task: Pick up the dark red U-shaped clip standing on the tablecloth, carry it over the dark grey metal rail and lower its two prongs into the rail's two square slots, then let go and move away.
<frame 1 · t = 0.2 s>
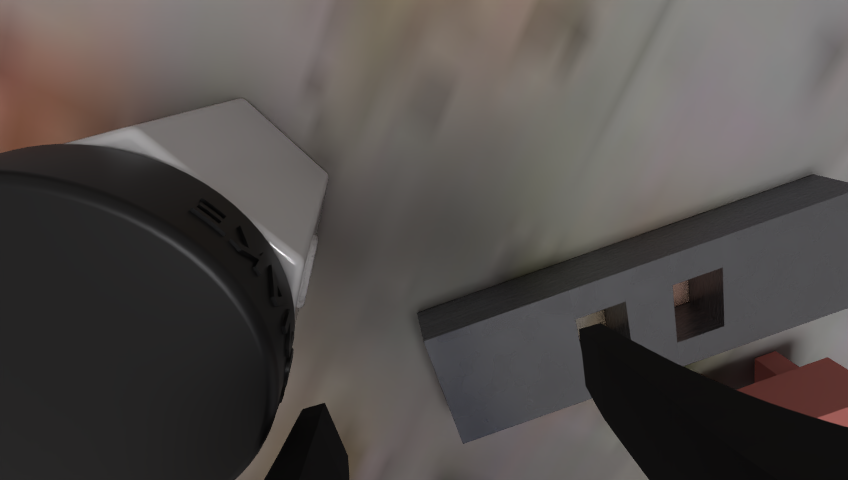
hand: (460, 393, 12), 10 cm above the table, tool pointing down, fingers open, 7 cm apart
jar: (231, 199, 19), on the table
clip: (728, 381, 27), on the table
rail: (623, 298, 24), on the table
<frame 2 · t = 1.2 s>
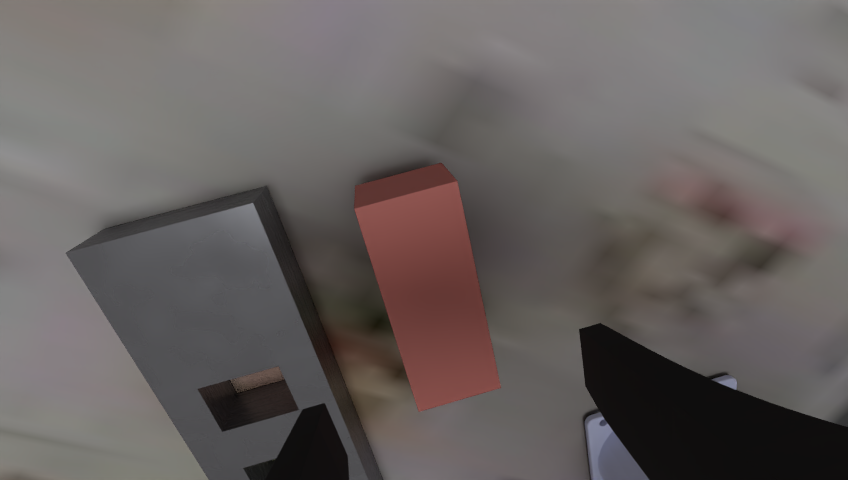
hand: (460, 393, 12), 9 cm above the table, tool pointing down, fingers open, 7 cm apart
clip: (418, 254, 20), on the table
rail: (279, 401, 22), on the table
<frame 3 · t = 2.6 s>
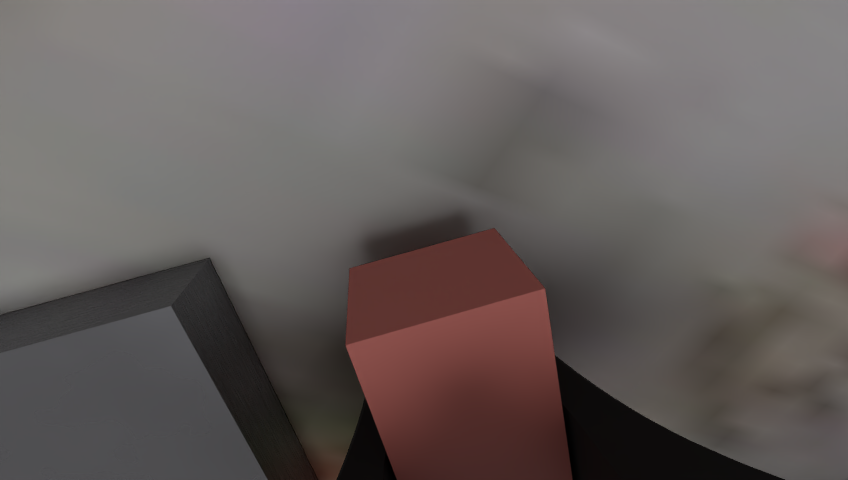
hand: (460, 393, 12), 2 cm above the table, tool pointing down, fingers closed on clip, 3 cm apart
clip: (447, 349, 14), on the table, touching gripper
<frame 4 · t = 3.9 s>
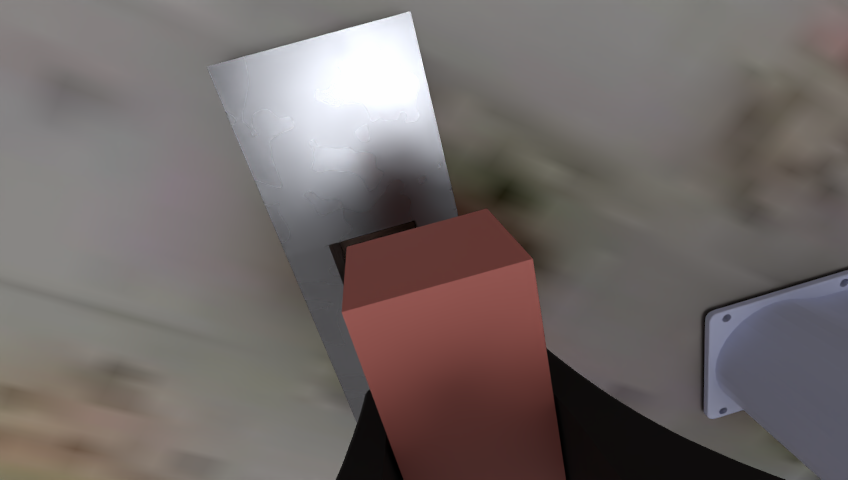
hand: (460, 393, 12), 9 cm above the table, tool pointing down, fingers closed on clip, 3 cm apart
clip: (442, 331, 14), point 7 cm above the table, touching gripper
rail: (393, 284, 21), on the table
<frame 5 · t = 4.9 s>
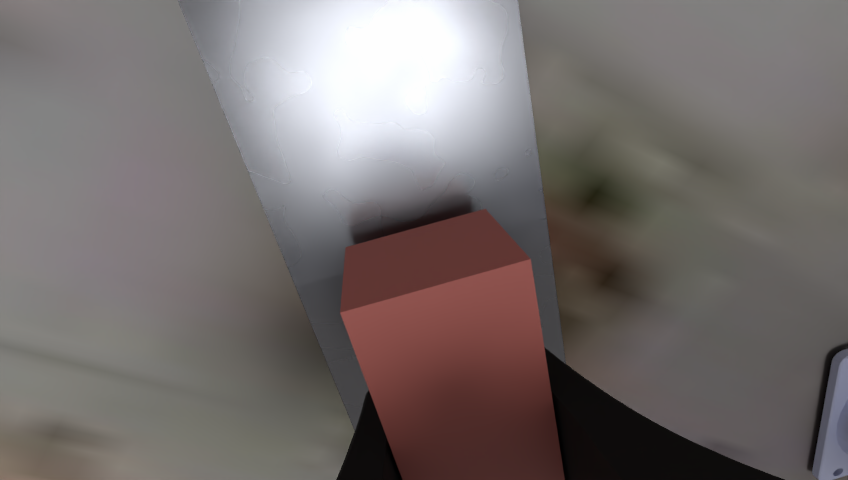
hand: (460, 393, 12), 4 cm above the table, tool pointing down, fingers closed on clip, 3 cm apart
clip: (441, 331, 14), point 1 cm above the table, touching gripper
rail: (438, 317, 15), on the table
when the fingers open (3 cm above the table, at t = 5.3 s): clip stays where it is, resting on rail.
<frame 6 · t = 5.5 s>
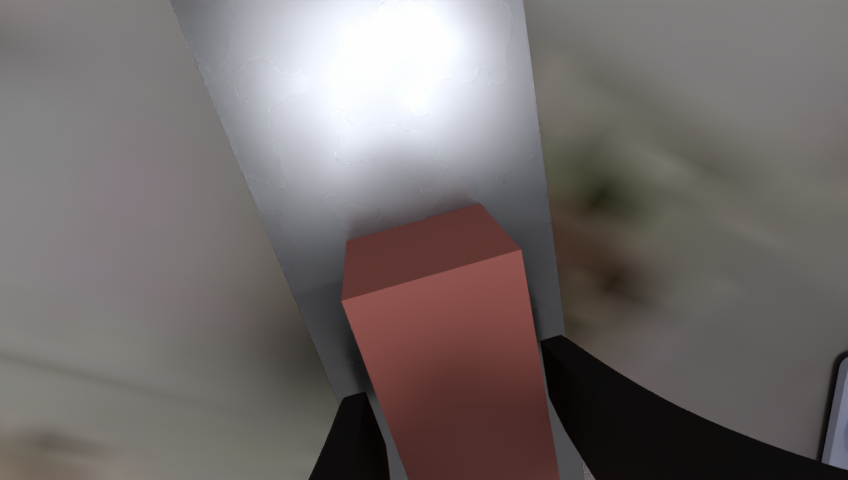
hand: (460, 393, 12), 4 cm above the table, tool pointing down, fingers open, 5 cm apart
clip: (439, 324, 14), resting on rail
rail: (439, 323, 15), on the table
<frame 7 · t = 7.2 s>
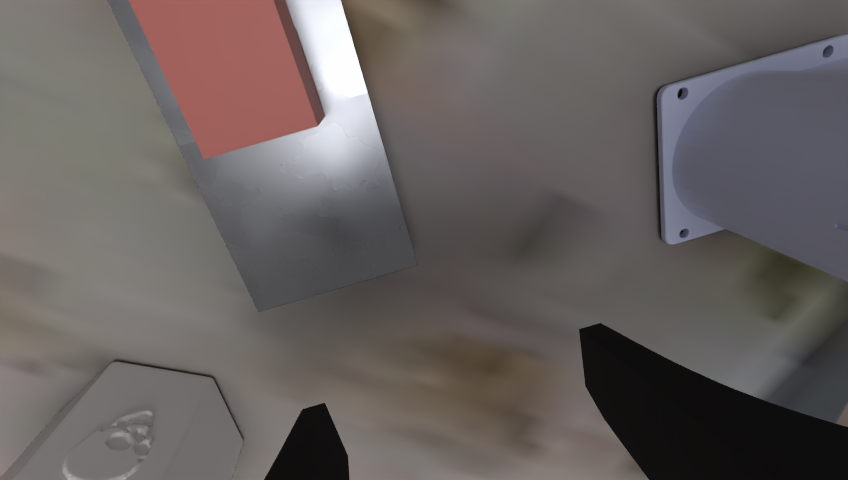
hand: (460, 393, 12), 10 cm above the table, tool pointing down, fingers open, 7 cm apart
jar: (157, 424, 23), on the table
clip: (240, 0, 16), resting on rail
rail: (247, 11, 16), on the table
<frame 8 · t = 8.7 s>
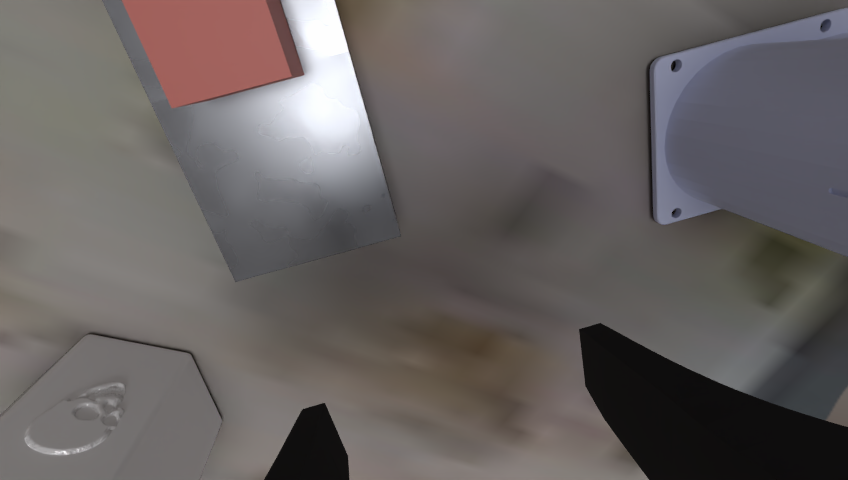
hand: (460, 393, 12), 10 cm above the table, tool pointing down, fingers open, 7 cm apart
jar: (133, 401, 22), on the table
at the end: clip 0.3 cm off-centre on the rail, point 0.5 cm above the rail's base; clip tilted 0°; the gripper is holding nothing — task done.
